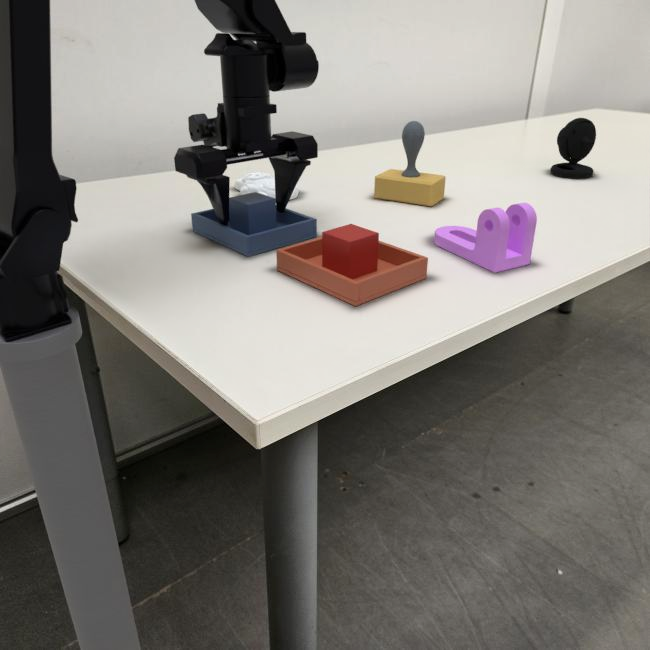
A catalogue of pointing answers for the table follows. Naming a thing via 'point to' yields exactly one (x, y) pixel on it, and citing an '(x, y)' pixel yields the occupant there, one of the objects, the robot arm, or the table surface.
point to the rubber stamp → (410, 175)
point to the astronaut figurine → (259, 185)
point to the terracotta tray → (390, 276)
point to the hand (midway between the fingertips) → (253, 218)
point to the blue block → (252, 213)
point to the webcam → (575, 148)
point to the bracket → (493, 238)
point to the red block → (350, 250)
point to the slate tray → (287, 232)
